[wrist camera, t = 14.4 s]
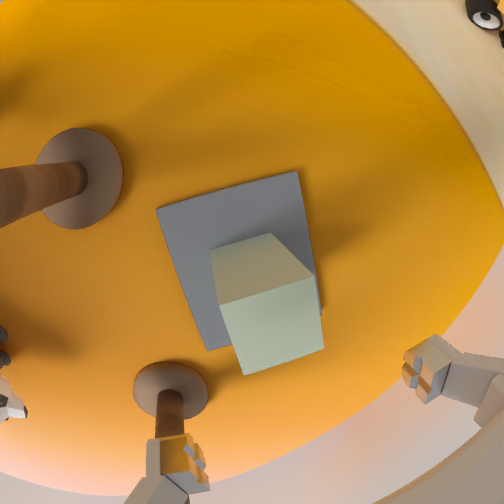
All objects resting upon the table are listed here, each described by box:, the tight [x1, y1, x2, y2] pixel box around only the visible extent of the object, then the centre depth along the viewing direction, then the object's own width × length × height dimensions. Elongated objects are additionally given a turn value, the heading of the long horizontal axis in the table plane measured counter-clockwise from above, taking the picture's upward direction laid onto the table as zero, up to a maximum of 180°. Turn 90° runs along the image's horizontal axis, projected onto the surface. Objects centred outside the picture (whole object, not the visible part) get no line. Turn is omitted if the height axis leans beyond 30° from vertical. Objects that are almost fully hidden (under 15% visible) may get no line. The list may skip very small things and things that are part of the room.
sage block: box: [209, 232, 324, 375], centre depth 17 cm, size 4×4×8 cm
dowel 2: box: [133, 362, 208, 504], centre depth 16 cm, size 7×7×17 cm
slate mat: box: [156, 171, 322, 351], centre depth 22 cm, size 10×12×1 cm
